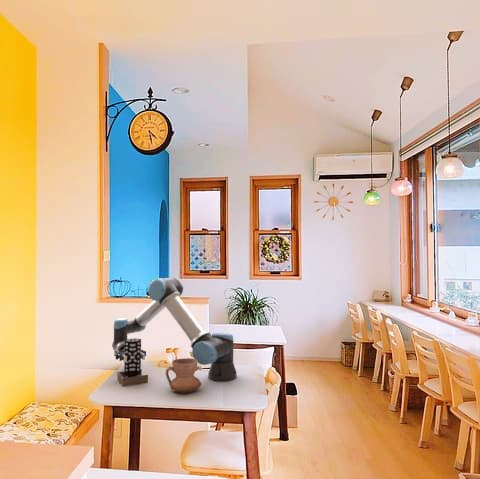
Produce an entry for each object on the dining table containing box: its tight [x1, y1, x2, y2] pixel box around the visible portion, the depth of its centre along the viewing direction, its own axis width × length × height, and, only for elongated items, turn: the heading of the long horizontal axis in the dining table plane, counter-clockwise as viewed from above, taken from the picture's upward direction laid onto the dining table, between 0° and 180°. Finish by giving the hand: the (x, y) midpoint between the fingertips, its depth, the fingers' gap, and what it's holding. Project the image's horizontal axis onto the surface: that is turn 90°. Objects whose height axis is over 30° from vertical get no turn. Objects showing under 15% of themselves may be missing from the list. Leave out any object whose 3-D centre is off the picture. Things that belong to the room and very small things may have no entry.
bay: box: [116, 368, 149, 388], centre depth 208 cm, size 13×13×4 cm
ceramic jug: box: [165, 357, 203, 394], centre depth 194 cm, size 18×14×14 cm
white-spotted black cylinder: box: [123, 337, 142, 378], centre depth 208 cm, size 8×8×20 cm
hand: (135, 358), depth 204 cm, fingers open, 8 cm apart
